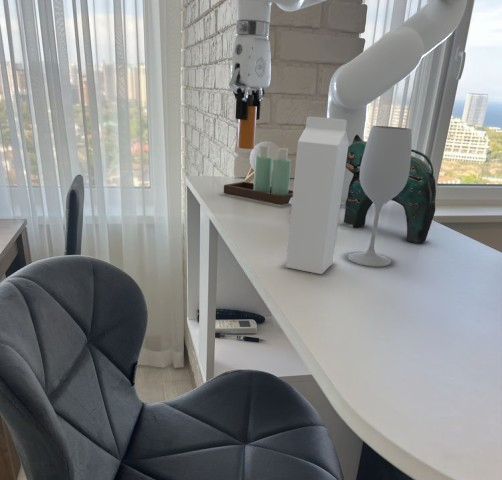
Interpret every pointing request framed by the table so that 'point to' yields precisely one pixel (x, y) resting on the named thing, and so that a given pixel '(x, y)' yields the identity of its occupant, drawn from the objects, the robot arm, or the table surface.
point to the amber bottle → (248, 127)
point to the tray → (256, 193)
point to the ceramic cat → (411, 197)
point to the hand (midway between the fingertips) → (247, 118)
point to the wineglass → (383, 178)
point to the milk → (317, 194)
